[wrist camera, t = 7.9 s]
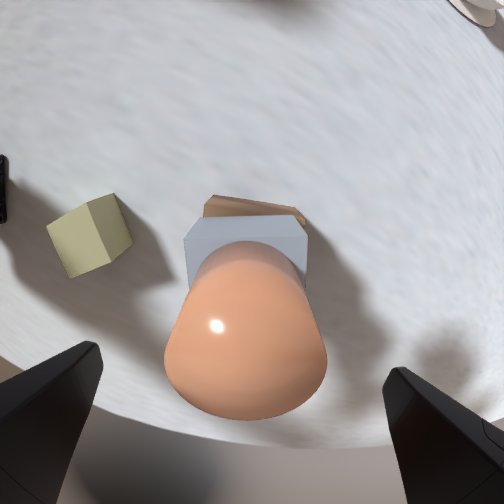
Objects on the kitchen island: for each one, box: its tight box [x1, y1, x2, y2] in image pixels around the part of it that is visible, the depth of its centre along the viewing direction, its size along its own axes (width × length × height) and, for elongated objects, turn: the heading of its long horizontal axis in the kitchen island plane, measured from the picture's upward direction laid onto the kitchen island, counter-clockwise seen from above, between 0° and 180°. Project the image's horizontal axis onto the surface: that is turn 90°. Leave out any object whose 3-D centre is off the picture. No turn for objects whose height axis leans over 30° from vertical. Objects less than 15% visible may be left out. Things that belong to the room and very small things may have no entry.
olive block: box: [46, 193, 134, 279], centre depth 17 cm, size 4×4×4 cm
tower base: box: [203, 195, 306, 229], centre depth 18 cm, size 6×6×4 cm
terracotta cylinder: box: [164, 241, 327, 420], centre depth 10 cm, size 5×5×5 cm
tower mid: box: [184, 215, 308, 291], centre depth 14 cm, size 5×5×4 cm
